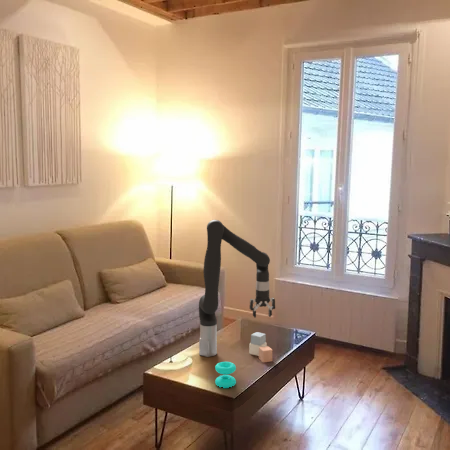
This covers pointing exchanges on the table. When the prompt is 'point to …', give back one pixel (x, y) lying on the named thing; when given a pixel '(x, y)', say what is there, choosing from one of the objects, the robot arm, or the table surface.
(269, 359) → the terracotta block
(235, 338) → the table surface
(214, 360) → the table surface
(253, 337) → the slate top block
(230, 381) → the donuts
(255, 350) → the cream base block
